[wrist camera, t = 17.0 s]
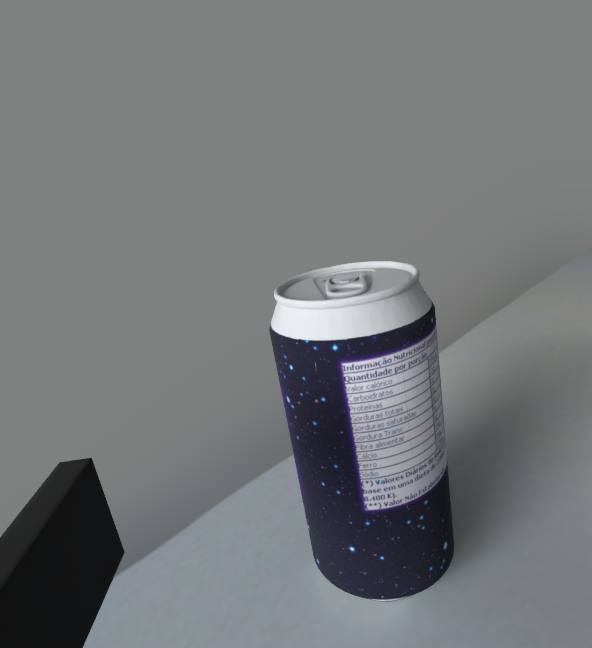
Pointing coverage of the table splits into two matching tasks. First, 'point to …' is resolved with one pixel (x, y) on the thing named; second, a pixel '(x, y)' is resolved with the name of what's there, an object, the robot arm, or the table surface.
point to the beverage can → (367, 425)
